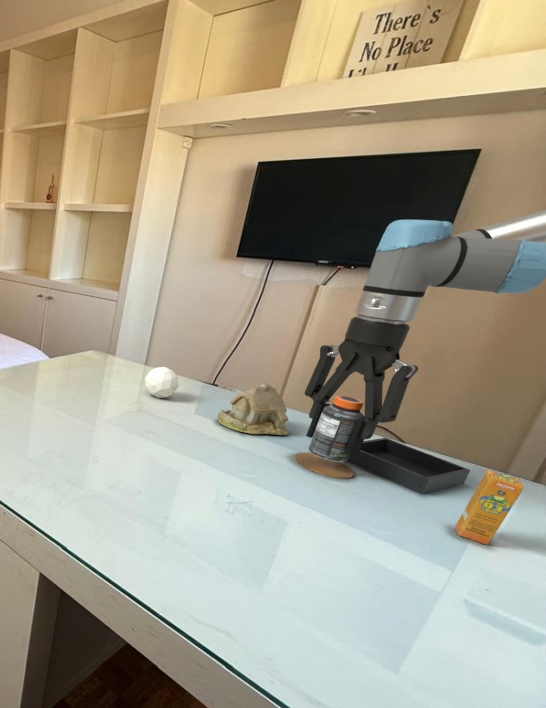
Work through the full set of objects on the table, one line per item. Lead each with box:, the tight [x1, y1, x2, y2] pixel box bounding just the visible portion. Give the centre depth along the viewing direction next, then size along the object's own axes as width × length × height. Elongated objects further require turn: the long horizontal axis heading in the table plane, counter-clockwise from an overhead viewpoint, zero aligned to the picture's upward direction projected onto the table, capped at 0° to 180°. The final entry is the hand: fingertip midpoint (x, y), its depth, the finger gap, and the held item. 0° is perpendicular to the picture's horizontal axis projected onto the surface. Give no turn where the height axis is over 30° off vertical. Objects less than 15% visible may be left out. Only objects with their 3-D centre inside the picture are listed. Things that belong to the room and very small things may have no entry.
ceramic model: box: [217, 382, 289, 436], centre depth 99 cm, size 14×11×10 cm
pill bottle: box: [308, 394, 365, 463], centre depth 82 cm, size 6×6×11 cm
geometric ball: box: [144, 366, 179, 399], centre depth 114 cm, size 8×8×8 cm
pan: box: [346, 437, 471, 495], centre depth 85 cm, size 13×13×3 cm
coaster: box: [293, 452, 354, 480], centre depth 85 cm, size 9×9×1 cm
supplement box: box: [455, 470, 524, 546], centre depth 65 cm, size 3×3×10 cm
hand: (331, 443), depth 83 cm, fingers closed on pill bottle, 6 cm apart
